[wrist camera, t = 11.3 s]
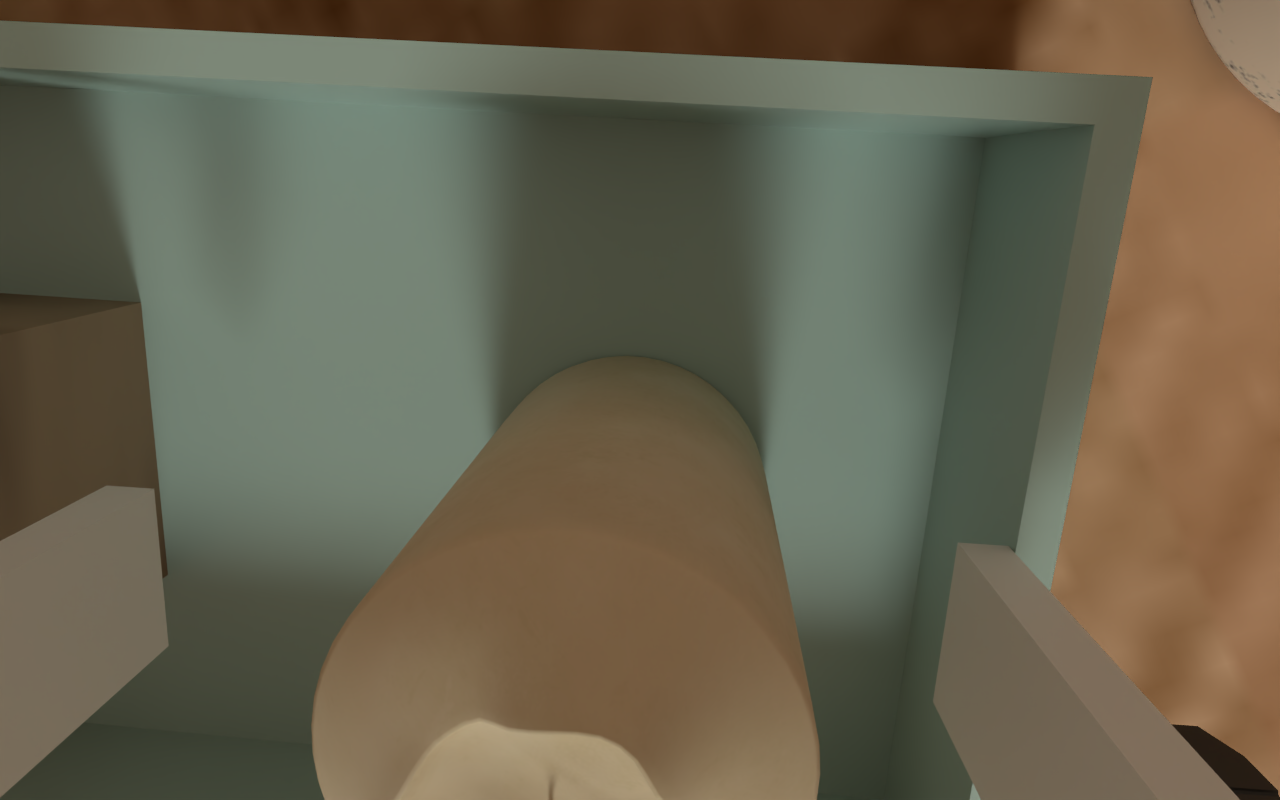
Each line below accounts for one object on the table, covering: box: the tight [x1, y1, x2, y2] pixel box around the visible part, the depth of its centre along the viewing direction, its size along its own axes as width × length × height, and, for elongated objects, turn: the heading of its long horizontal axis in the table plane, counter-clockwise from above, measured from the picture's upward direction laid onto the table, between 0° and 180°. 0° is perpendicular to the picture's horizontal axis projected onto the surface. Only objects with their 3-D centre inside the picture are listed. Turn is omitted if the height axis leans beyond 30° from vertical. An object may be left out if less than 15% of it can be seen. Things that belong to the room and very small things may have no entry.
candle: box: [311, 356, 820, 800], centre depth 13 cm, size 6×6×10 cm
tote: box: [0, 21, 1153, 800], centre depth 16 cm, size 25×15×5 cm, turn 87°
